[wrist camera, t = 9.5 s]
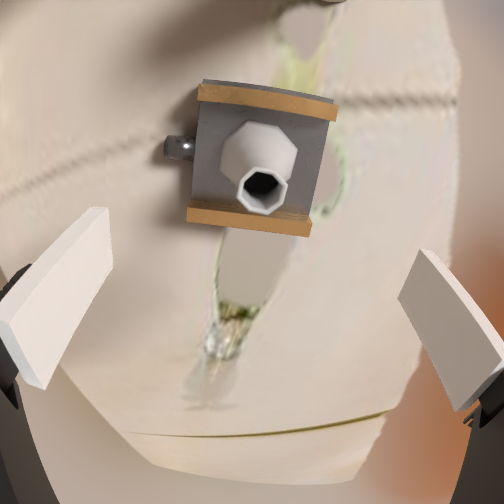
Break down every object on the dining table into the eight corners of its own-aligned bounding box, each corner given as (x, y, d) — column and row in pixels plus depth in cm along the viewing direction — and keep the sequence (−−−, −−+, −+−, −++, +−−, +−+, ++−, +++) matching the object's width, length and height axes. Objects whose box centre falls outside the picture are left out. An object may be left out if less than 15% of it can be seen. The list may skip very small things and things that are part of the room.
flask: (310, 146, 27) (340, 174, 18) (270, 206, 30) (279, 259, 21) (243, 106, 25) (239, 113, 16) (206, 172, 28) (185, 211, 19)
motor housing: (177, 78, 25) (165, 76, 21) (327, 99, 26) (339, 100, 23) (167, 206, 32) (156, 223, 28) (300, 222, 33) (307, 241, 29)
